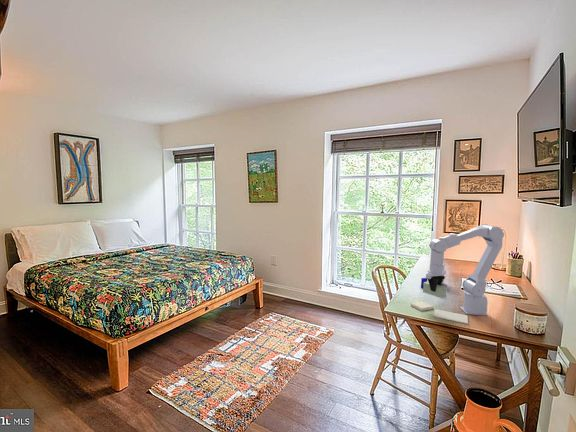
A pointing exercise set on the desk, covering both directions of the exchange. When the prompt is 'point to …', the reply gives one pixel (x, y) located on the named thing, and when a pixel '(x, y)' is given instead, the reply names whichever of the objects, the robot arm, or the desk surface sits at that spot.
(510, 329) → the desk surface
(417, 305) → the tile
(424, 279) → the cable clip
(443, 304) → the desk surface
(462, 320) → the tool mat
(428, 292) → the block
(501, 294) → the desk surface
